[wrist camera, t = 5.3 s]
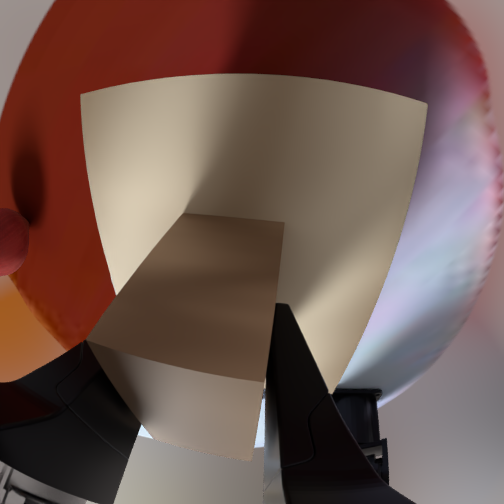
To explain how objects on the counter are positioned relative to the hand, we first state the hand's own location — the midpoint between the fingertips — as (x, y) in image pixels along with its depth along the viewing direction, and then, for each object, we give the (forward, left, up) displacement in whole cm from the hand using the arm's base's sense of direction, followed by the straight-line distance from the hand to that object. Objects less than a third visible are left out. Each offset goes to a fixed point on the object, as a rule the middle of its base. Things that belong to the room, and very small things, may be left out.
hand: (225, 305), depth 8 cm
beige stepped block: (0, 0, -2) cm, 2 cm away
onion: (+22, +3, -9) cm, 24 cm away
